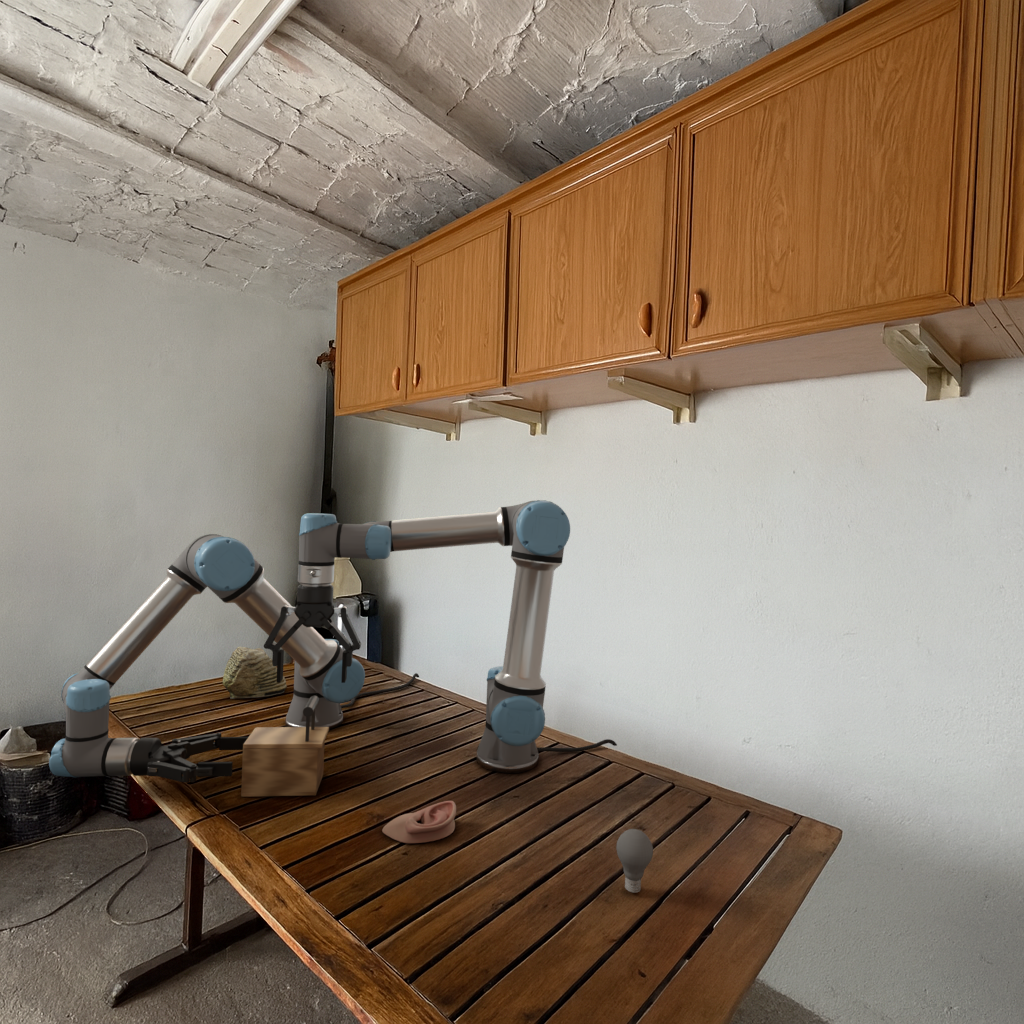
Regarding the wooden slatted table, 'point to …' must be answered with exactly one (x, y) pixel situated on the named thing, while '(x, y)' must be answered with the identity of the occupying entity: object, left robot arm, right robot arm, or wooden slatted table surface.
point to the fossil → (251, 674)
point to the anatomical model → (423, 824)
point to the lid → (290, 733)
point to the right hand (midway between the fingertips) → (312, 681)
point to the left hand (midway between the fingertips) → (241, 755)
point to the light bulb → (634, 857)
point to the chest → (281, 771)
